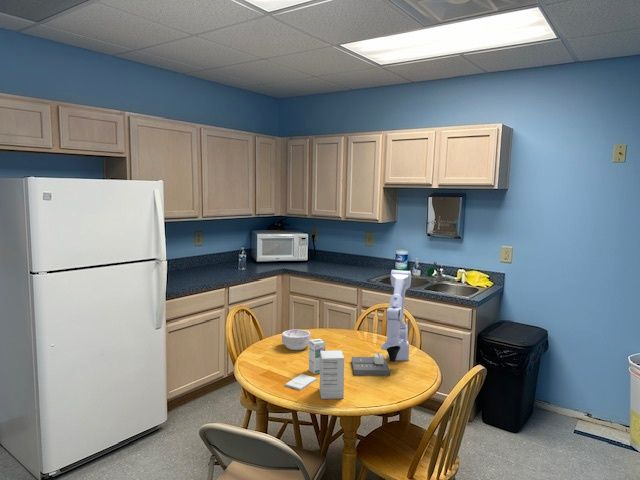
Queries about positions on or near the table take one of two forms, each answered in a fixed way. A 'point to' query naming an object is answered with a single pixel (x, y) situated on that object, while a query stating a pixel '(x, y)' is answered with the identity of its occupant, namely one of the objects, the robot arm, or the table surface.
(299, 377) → the external hard drive
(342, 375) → the supplement box
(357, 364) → the slide fader panel
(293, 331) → the paper bowls
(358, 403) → the table surface
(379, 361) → the fader knob
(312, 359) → the syrup box
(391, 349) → the robot arm
